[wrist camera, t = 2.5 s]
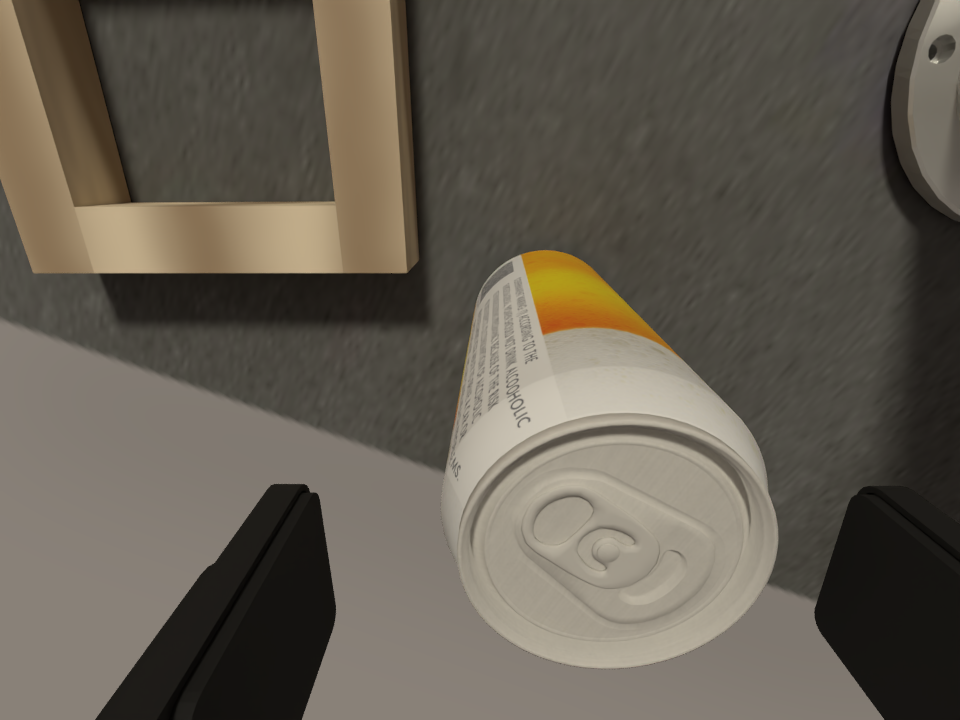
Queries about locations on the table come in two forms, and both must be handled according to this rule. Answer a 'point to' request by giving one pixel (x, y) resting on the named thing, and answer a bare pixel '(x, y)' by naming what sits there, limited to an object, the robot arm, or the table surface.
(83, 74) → the can holder
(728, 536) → the beer can
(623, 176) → the table surface
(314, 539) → the robot arm
